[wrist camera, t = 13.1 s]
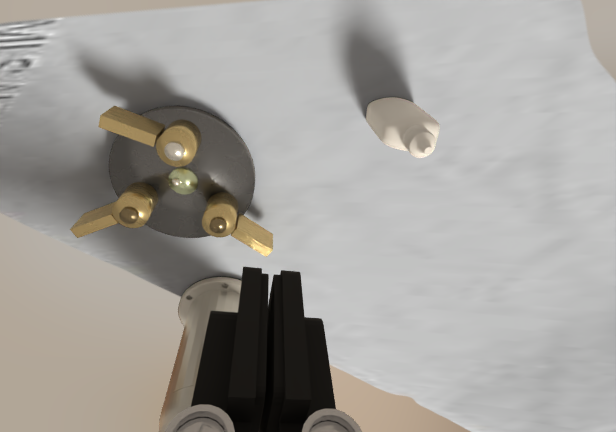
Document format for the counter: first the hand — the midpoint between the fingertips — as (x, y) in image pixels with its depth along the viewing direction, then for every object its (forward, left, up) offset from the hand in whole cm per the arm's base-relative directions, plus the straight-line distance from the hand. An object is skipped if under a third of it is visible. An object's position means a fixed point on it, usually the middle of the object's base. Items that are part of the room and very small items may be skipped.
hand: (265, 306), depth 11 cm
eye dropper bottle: (-12, -6, -32) cm, 35 cm away
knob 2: (+5, +21, -31) cm, 38 cm away
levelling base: (+1, +14, -32) cm, 35 cm away
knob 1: (+7, +11, -31) cm, 33 cm away
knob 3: (-6, +14, -30) cm, 34 cm away
